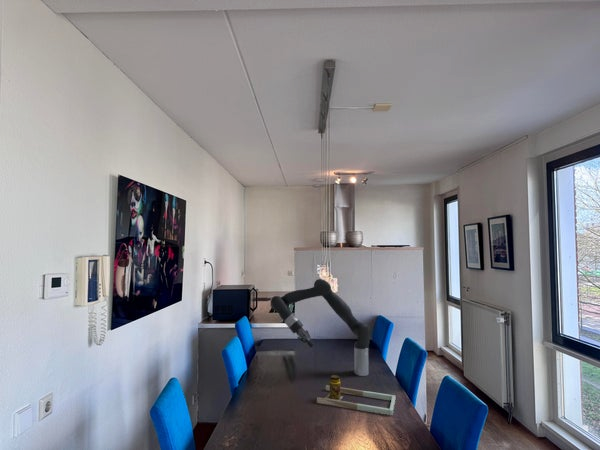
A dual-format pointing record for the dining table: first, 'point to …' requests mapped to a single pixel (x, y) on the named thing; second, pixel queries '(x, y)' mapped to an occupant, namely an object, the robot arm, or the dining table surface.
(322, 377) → the dining table surface
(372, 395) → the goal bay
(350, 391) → the wooden guide rails
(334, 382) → the condiment
